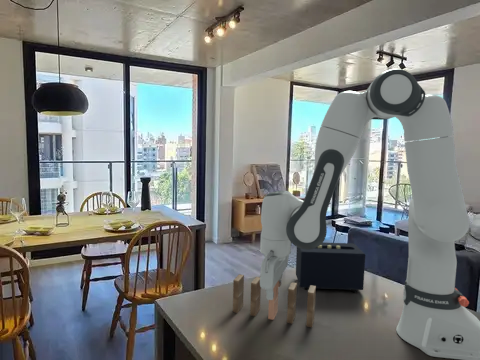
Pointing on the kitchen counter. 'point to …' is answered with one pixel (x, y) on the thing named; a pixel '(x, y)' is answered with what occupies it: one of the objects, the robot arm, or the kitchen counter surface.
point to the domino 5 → (311, 306)
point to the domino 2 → (255, 296)
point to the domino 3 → (273, 303)
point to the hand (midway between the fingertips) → (274, 292)
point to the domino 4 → (291, 302)
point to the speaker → (331, 267)
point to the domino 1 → (238, 293)
